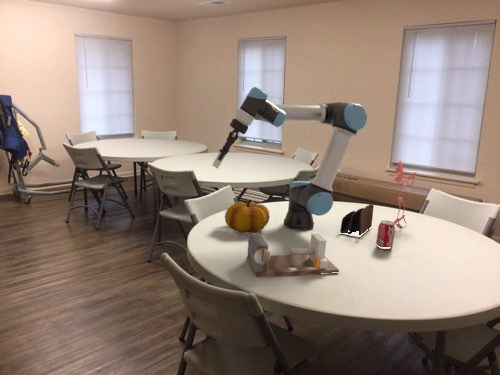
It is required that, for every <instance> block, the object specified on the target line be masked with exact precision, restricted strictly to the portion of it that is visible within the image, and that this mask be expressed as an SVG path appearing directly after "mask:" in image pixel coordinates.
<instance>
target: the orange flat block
mask: <svg viewBox="0 0 500 375" xmlns="http://www.w3.org/2000/svg"><path fill="white" fill-rule="evenodd" d="M314 267H315V268H316V269H319V268H320V258H319V256H318V255H317V256H314Z"/></svg>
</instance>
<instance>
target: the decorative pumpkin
mask: <svg viewBox="0 0 500 375" xmlns="http://www.w3.org/2000/svg"><path fill="white" fill-rule="evenodd" d="M224 220H225V224H226V226H228V227H229V228H230V229H232V230H234V231H238V232H240V233H242V234H249V233H260V232H261V231H262V230H264V229H265V227H266V226H267V224H268V223H269V221H270V211H269V209H268V207H267V206H266V205H264V204H260V203H255V201H252V199H249V201H247V202H244V201H236V202H234V204H232V205H230V206H229V207H228V208H227V210H226V211H225V214H224Z"/></svg>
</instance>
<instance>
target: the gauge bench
mask: <svg viewBox="0 0 500 375" xmlns="http://www.w3.org/2000/svg"><path fill="white" fill-rule="evenodd" d="M325 258H326V259H327V260H328V268H323V269H320V268H319V269H316V268H315V267H314V262H313V261H312V260H311V259H310V258H309V255H290V254H281V255H280V254H278V255H277V254H276V255H274V254H273V255H271V252H270V251H269V245H268V243H267V241H266V240H265V239H264V238H263V236H262V235H261V234H260V232H258V233H251V232H248V242H247V256H246V261H247V263H248V265H249V267H250V268H251V270H252V272H253V274H254V275H255V278H262V277H266V278H267V277H289V276H291V277H293V276H308V275H309V274H317V275H322V274H321V273H332V272H340V269H339V268H338V267H336V266H335V264H333V262H331V261H330V260H329V259H328V258H327V257H326V256H325ZM309 276H310V275H309Z"/></svg>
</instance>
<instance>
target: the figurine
mask: <svg viewBox="0 0 500 375" xmlns="http://www.w3.org/2000/svg"><path fill="white" fill-rule="evenodd" d="M404 166H405V162H402V160H399V161H398V164H397V166H395V175H394V176H393V178H391V179H390V181H389V183H388V184H391V183H392V182H393V181H395V183H396V182H397V186H399V185H400V184H401V183H402V186H400V187H399V195H398V197H397V199H396V200H397V202H398V206H399V207H401V204H400V203H403V204H404V205H403V210H402V215H401V216H400V218H399V214H400V211H401V208H399V209H398V213H397V218H396V219H395V220H394V221H392V222H393V223H394V226H395V227H396V225H398V227H399V228H400V227H401V224H400V222H401V221H402V220H403V221H404V224H405V223H406V224H407V221H406V219H405V216H406V215H405V214H404V212H405V209H406V204H405V201H404V200H403V197H401V193H402V188H405V187H406V186H411V187H413V184H414V181H415V178H416V176H417V172H413V173H411V174H409V176H407V179H406V177H405V175H404ZM403 180H404V181H403ZM411 180H412V182H411V183H409V181H411ZM404 182H405V184H404ZM397 222H398V223H397ZM401 228H402V227H401Z"/></svg>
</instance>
